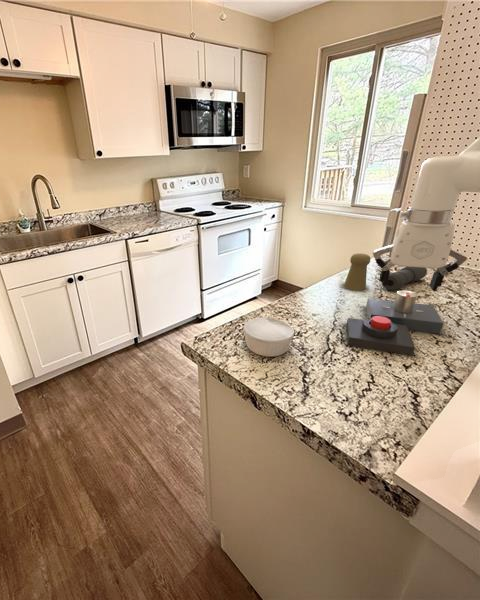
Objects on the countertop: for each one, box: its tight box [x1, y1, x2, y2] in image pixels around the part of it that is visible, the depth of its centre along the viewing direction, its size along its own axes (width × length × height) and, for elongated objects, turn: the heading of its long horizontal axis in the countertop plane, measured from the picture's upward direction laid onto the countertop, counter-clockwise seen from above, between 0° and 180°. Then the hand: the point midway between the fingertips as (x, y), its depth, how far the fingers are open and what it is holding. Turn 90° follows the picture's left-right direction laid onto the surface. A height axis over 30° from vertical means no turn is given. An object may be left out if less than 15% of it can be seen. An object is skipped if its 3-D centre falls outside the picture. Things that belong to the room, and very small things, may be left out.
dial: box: [393, 290, 418, 313], centre depth 78 cm, size 4×4×5 cm
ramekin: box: [242, 316, 295, 358], centre depth 75 cm, size 11×11×5 cm
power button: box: [370, 316, 391, 329], centre depth 72 cm, size 4×4×2 cm
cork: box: [343, 253, 371, 292], centre depth 98 cm, size 6×6×11 cm
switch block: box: [345, 317, 416, 356], centre depth 73 cm, size 12×10×4 cm
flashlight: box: [382, 266, 429, 291], centre depth 98 cm, size 15×5×5 cm, turn 117°
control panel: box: [365, 298, 444, 335], centre depth 80 cm, size 14×10×3 cm
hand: (407, 286), depth 77 cm, fingers open, 9 cm apart
